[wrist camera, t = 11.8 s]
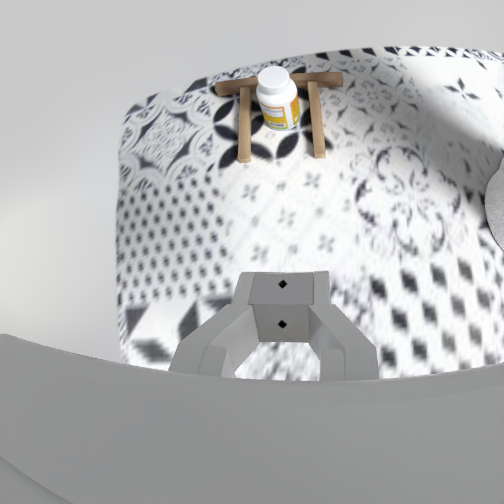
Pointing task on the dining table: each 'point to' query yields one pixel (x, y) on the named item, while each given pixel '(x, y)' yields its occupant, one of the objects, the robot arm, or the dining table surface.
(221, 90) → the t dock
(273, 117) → the supplement bottle
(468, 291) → the dining table surface
